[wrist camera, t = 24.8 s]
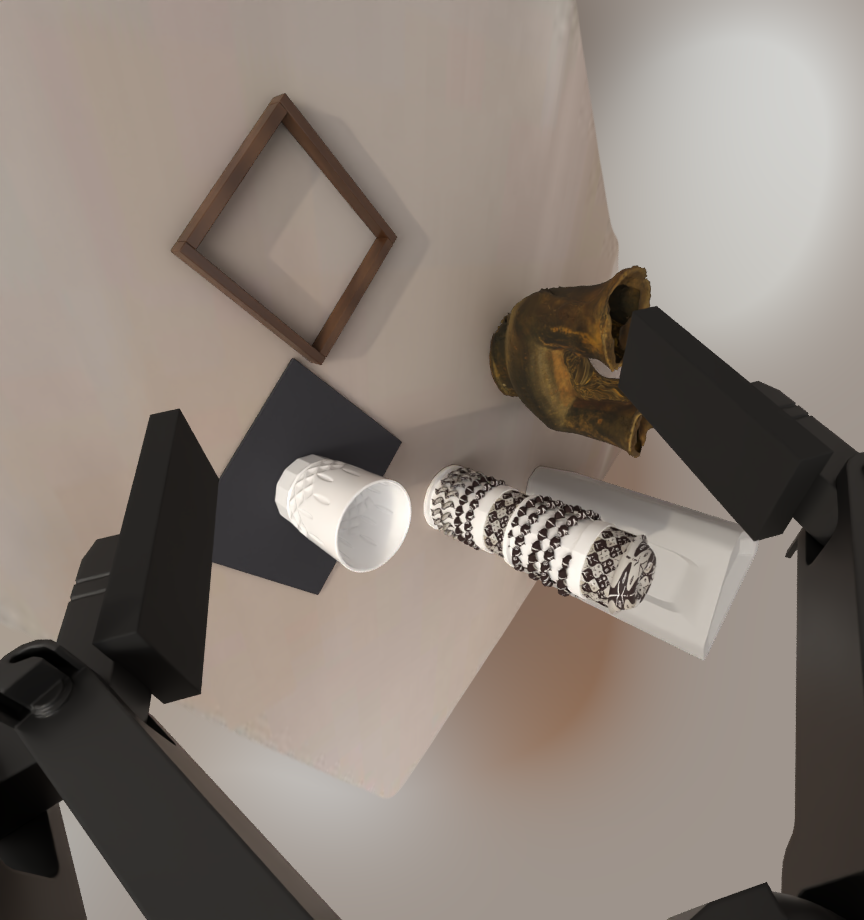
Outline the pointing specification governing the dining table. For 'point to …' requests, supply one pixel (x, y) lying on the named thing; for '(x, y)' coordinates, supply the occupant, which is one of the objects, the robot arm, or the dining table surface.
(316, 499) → the white cup
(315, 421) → the mat
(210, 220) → the wooden frame
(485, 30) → the dining table surface
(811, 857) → the robot arm
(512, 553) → the decorative candle
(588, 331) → the pottery vessel
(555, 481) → the white triangular vase
